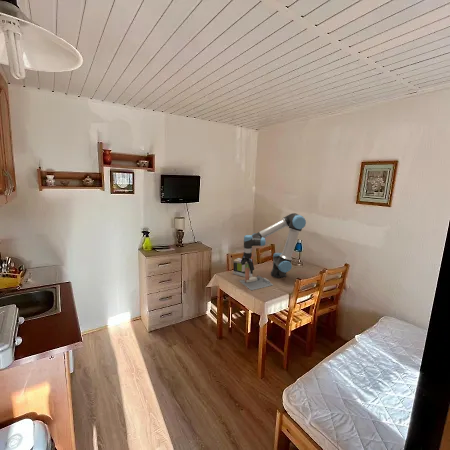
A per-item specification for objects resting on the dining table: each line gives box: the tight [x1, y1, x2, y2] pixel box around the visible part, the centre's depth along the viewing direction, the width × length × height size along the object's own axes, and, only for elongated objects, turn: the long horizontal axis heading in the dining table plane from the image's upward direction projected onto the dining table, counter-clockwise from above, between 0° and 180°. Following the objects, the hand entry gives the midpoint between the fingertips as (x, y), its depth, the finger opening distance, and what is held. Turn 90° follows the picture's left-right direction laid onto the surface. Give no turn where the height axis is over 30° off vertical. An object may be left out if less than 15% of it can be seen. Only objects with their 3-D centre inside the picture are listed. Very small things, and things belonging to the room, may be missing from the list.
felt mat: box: [238, 275, 274, 292], centre depth 234 cm, size 24×22×1 cm
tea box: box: [232, 257, 250, 278], centre depth 253 cm, size 15×10×15 cm, turn 56°
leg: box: [244, 268, 257, 283], centre depth 236 cm, size 11×4×13 cm, turn 116°
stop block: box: [262, 277, 271, 284], centre depth 235 cm, size 2×8×3 cm, turn 26°
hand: (246, 274), depth 234 cm, fingers open, 13 cm apart
